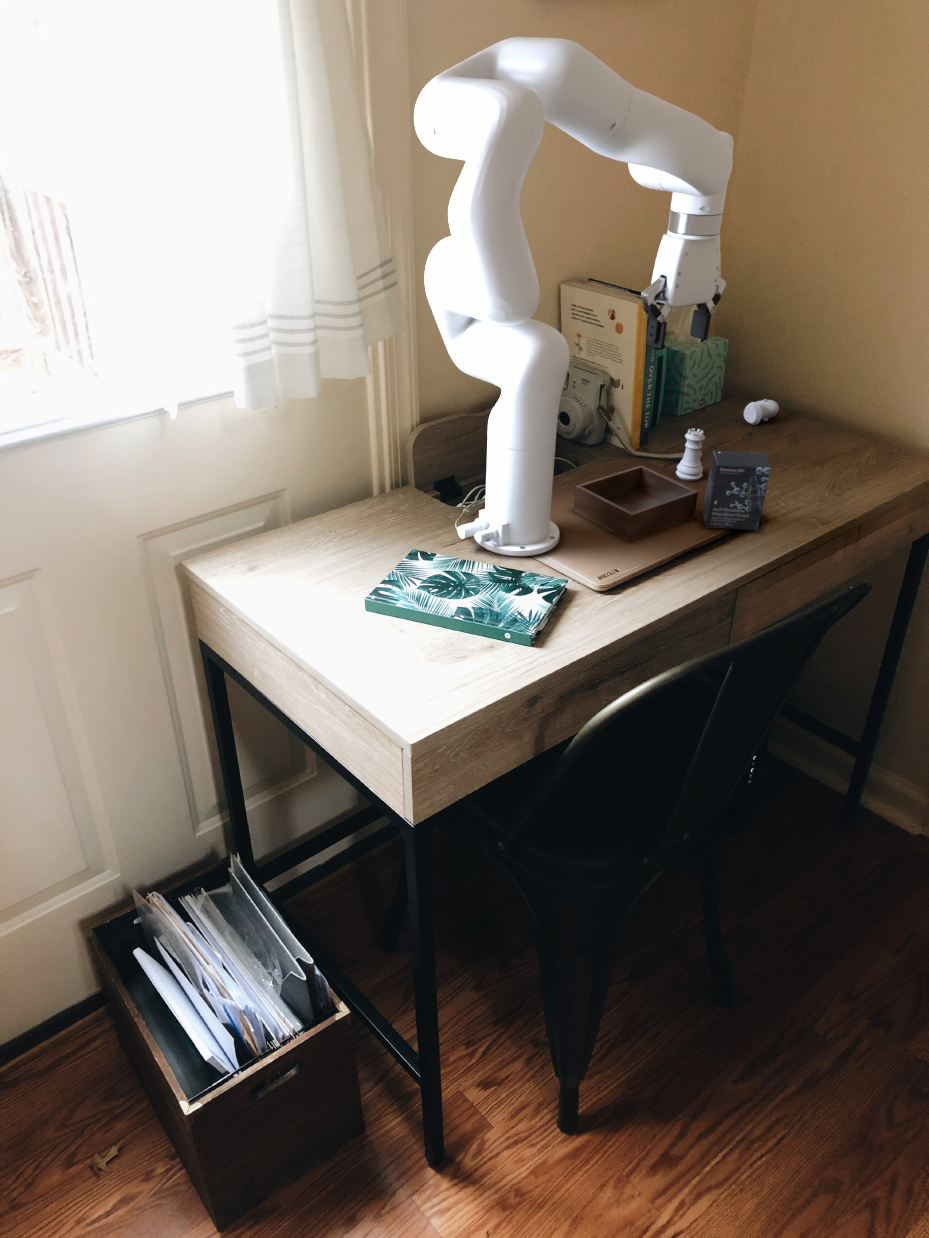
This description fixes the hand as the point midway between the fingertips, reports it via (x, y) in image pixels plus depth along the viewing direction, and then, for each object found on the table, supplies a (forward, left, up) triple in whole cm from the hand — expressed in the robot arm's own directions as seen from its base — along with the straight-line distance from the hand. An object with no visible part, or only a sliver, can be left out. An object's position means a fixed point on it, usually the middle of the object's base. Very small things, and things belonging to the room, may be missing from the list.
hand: (676, 342), depth 149 cm
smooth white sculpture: (+35, +8, -23) cm, 43 cm away
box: (-4, -19, -23) cm, 30 cm away
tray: (-14, -8, -23) cm, 28 cm away
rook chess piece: (+4, -3, -23) cm, 23 cm away
